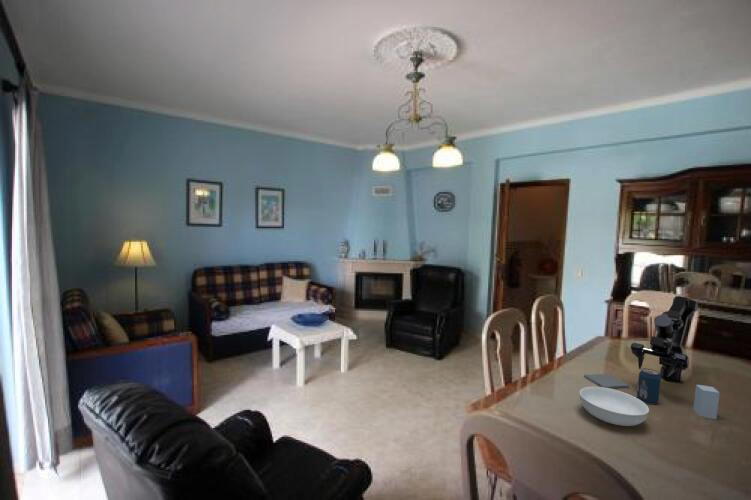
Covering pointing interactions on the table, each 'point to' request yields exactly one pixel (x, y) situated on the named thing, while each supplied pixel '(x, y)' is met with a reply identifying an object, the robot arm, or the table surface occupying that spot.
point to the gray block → (706, 401)
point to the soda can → (649, 386)
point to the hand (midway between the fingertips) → (653, 372)
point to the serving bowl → (613, 406)
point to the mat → (606, 381)
